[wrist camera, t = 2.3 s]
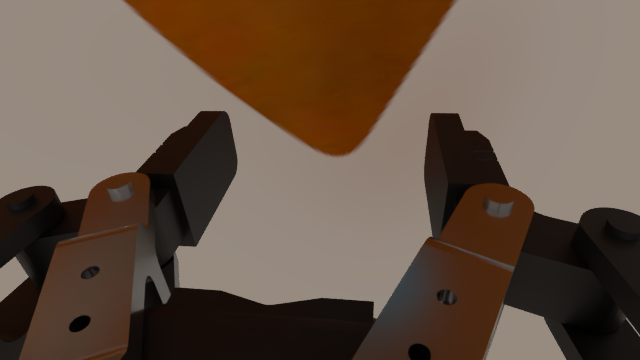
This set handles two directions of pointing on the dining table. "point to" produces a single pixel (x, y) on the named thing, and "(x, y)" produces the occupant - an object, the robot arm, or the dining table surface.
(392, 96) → the dining table surface
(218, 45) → the dining table surface
